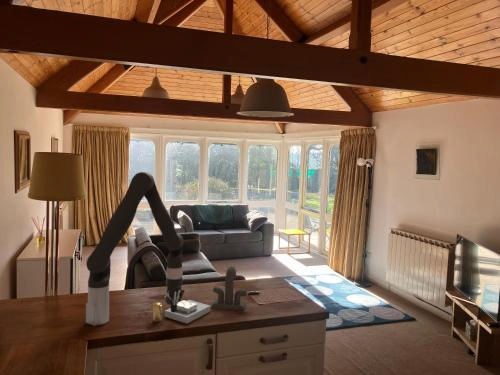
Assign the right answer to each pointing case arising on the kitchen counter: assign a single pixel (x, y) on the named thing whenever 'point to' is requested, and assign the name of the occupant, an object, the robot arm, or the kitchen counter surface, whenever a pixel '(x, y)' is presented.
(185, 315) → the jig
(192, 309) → the shunt plate
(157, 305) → the cylinder
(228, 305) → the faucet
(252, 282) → the kitchen counter surface
